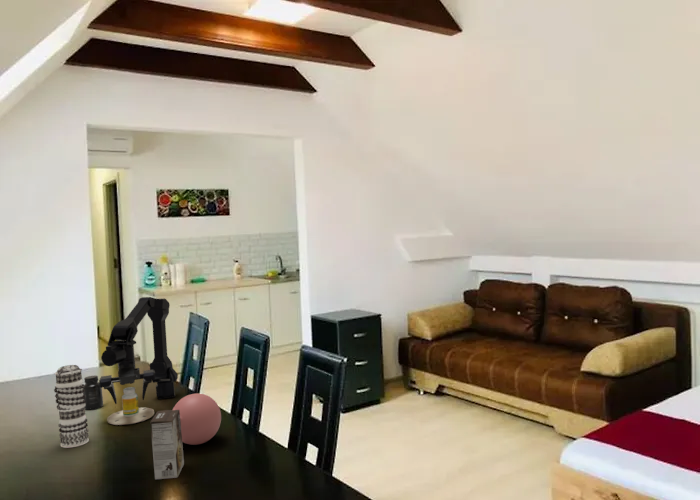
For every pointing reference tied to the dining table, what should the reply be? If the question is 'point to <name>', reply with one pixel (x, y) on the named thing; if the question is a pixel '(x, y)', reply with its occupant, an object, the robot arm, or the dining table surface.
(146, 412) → the turntable
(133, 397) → the supplement bottle
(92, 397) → the supplement bottle
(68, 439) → the decorative candle
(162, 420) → the coffee box
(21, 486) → the dining table surface
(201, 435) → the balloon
